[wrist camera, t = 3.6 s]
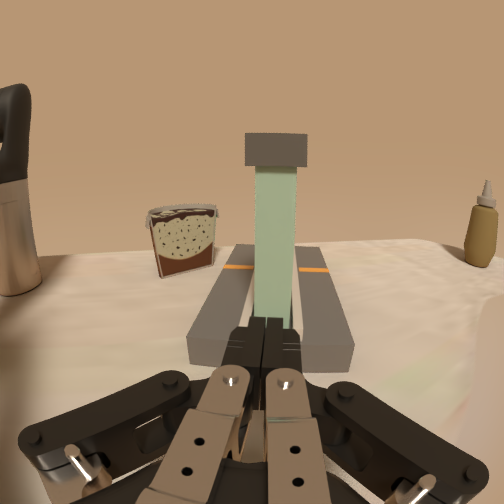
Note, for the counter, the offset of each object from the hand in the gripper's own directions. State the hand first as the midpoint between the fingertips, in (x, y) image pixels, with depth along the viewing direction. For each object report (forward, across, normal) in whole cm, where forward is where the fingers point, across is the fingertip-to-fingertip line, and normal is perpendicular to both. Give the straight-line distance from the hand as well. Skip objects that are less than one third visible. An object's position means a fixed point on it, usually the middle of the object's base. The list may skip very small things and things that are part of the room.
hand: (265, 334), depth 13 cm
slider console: (+22, 0, +10) cm, 24 cm away
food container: (+32, +16, +10) cm, 37 cm away
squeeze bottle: (+39, -44, +10) cm, 60 cm away
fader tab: (+12, 0, +6) cm, 14 cm away
